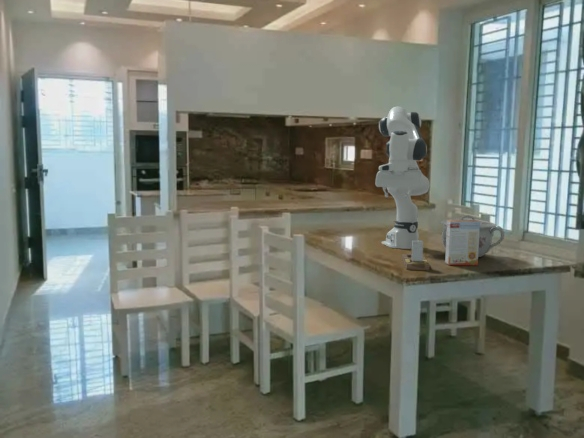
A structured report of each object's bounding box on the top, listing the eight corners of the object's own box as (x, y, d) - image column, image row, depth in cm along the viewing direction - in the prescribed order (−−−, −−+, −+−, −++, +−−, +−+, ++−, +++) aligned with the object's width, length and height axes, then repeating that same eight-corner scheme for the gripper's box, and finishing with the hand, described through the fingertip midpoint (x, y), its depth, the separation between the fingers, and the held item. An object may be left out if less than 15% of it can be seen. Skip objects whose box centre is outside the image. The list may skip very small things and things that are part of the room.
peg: (410, 265, 266) (412, 240, 265) (420, 266, 266) (422, 240, 264) (411, 267, 262) (413, 241, 260) (421, 268, 261) (423, 242, 260)
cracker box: (473, 263, 275) (476, 219, 272) (477, 265, 269) (480, 221, 266) (444, 262, 275) (446, 219, 272) (448, 265, 269) (450, 220, 266)
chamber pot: (427, 252, 301) (429, 212, 299) (470, 249, 311) (473, 211, 308) (460, 262, 275) (463, 219, 273) (507, 259, 285) (510, 218, 282)
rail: (401, 258, 282) (401, 253, 282) (422, 259, 281) (422, 254, 281) (406, 269, 258) (406, 263, 258) (429, 270, 257) (429, 264, 257)
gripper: (420, 167, 266) (419, 197, 267) (375, 166, 268) (374, 196, 269) (422, 167, 259) (420, 198, 261) (376, 166, 261) (375, 197, 263)
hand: (396, 197), depth 265 cm, fingers open, 8 cm apart
